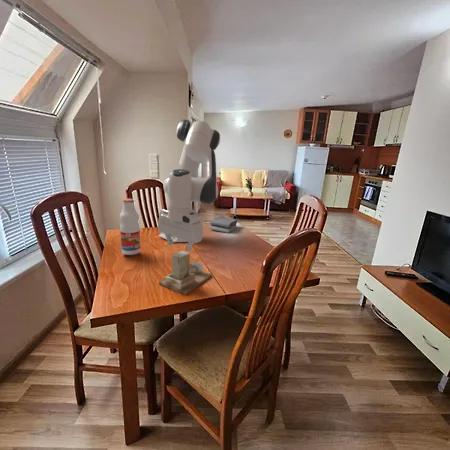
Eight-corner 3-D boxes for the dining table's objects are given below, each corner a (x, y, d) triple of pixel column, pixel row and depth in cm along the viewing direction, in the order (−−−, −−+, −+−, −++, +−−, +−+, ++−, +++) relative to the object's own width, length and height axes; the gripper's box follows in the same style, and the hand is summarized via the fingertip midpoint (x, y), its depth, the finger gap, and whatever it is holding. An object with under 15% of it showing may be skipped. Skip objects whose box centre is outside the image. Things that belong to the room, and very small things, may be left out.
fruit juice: (143, 248, 135) (140, 198, 127) (137, 255, 126) (135, 201, 118) (125, 248, 135) (122, 197, 127) (119, 255, 126) (114, 200, 118)
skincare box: (179, 285, 99) (179, 257, 95) (171, 282, 101) (171, 254, 97) (190, 279, 104) (190, 252, 100) (182, 276, 106) (182, 250, 103)
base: (158, 284, 101) (158, 274, 100) (187, 268, 116) (187, 259, 115) (185, 295, 95) (185, 285, 94) (211, 276, 110) (212, 268, 108)
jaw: (189, 271, 110) (189, 263, 109) (193, 268, 113) (193, 261, 112) (198, 274, 108) (198, 267, 107) (202, 271, 111) (202, 264, 110)
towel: (209, 230, 173) (209, 219, 171) (219, 224, 189) (219, 214, 187) (229, 234, 168) (230, 223, 166) (238, 227, 184) (238, 216, 182)
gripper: (153, 209, 96) (154, 242, 100) (195, 220, 86) (194, 256, 91) (165, 207, 102) (165, 238, 106) (206, 217, 92) (204, 251, 96)
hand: (179, 247), depth 98 cm, fingers open, 8 cm apart
